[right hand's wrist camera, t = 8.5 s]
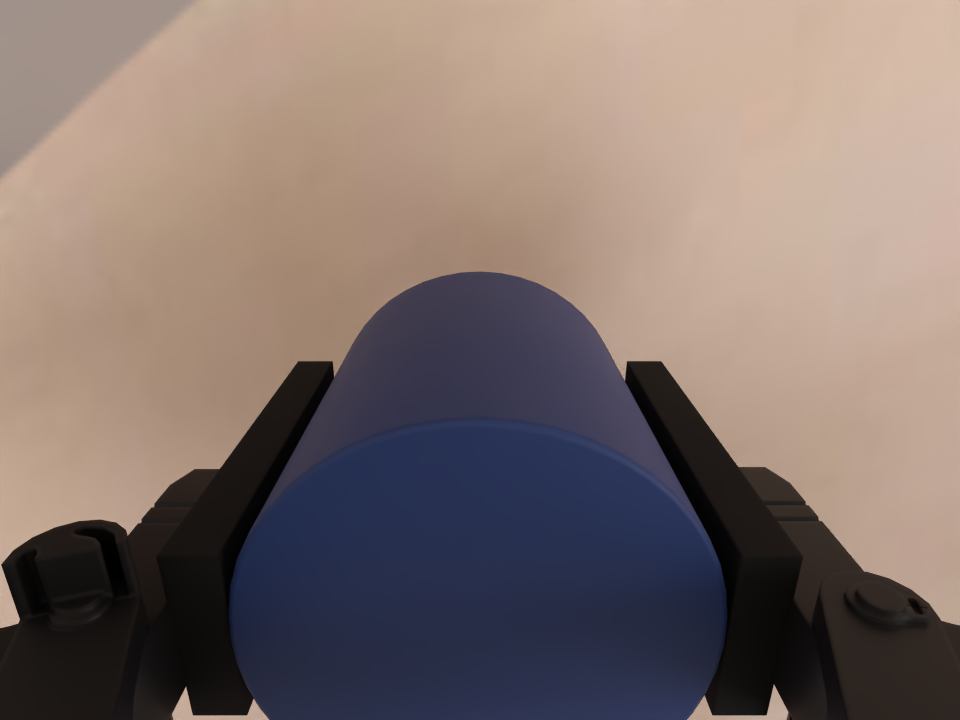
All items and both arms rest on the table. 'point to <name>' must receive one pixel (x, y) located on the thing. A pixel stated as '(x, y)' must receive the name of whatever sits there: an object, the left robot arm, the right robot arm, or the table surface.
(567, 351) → the can
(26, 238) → the table surface
